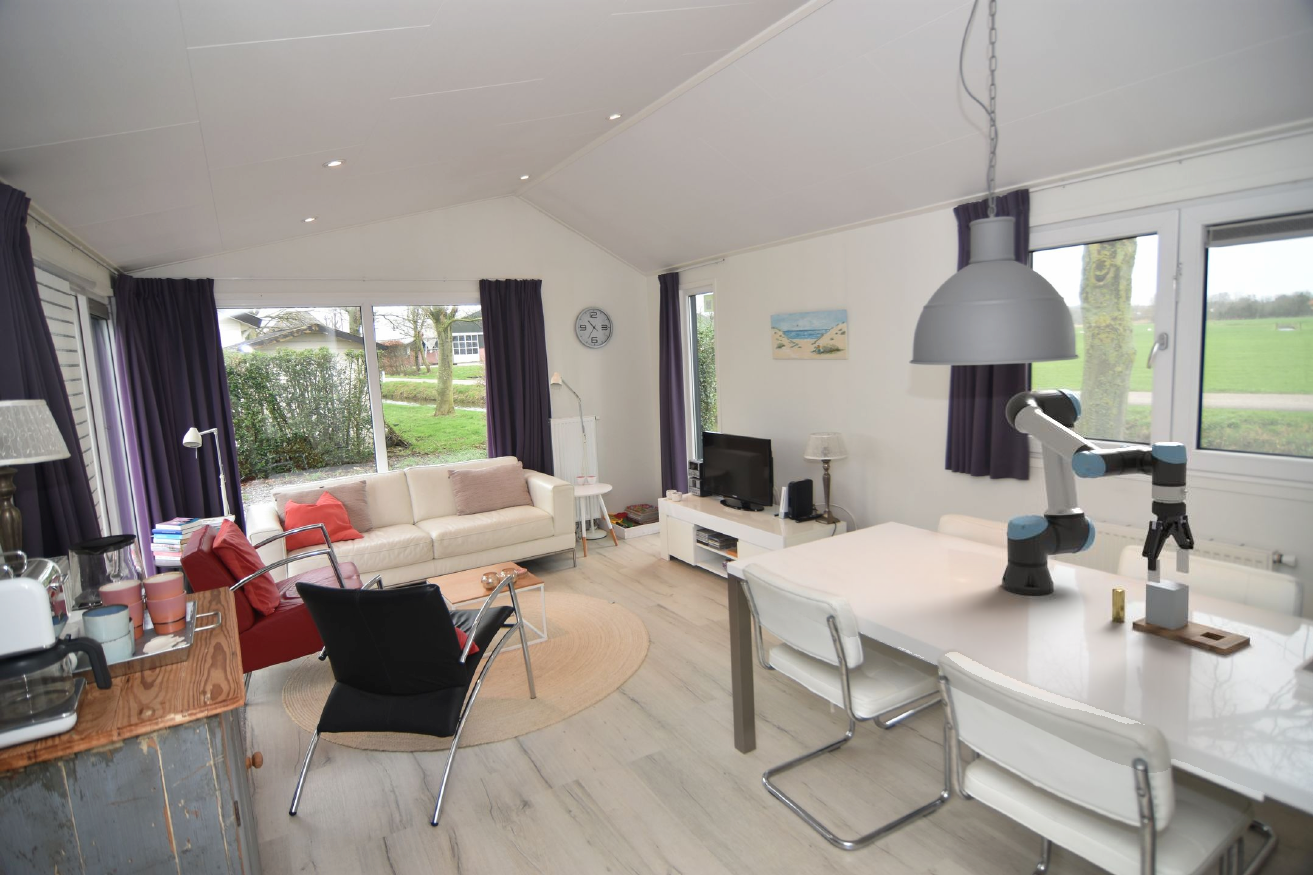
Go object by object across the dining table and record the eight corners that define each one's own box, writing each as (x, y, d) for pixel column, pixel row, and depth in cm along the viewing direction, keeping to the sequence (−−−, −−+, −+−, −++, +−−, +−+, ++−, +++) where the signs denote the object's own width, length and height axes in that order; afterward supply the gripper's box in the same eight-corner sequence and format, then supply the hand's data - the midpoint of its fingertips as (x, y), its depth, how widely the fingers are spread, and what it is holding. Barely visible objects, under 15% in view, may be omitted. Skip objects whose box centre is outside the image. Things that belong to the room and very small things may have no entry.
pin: (1109, 619, 202) (1110, 589, 201) (1116, 617, 203) (1116, 587, 202) (1120, 623, 199) (1120, 592, 198) (1126, 620, 201) (1127, 590, 199)
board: (1132, 627, 196) (1132, 621, 196) (1157, 617, 201) (1157, 612, 201) (1224, 655, 176) (1224, 648, 176) (1249, 643, 181) (1249, 637, 181)
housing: (1145, 622, 195) (1146, 583, 194) (1160, 616, 198) (1160, 578, 197) (1173, 630, 189) (1174, 590, 187) (1188, 624, 192) (1188, 585, 191)
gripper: (1156, 509, 181) (1156, 589, 183) (1210, 495, 191) (1209, 571, 194) (1126, 505, 187) (1126, 582, 189) (1179, 491, 198) (1179, 565, 200)
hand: (1168, 576), depth 192 cm, fingers open, 13 cm apart
